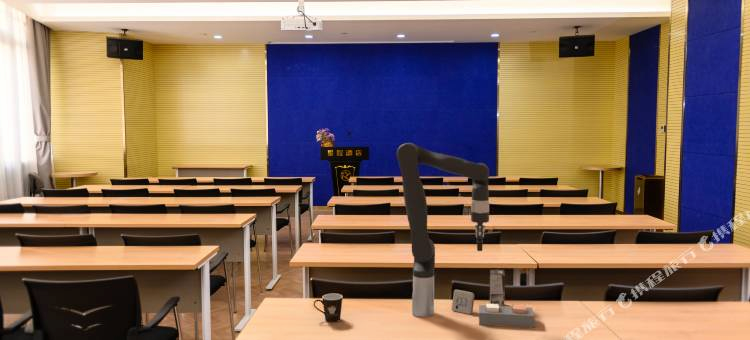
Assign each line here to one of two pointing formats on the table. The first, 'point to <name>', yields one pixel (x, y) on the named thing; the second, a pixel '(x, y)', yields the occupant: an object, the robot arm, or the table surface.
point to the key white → (492, 307)
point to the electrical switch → (463, 301)
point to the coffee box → (497, 287)
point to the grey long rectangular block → (506, 317)
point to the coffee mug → (331, 307)
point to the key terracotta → (519, 309)
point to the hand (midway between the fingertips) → (479, 250)
